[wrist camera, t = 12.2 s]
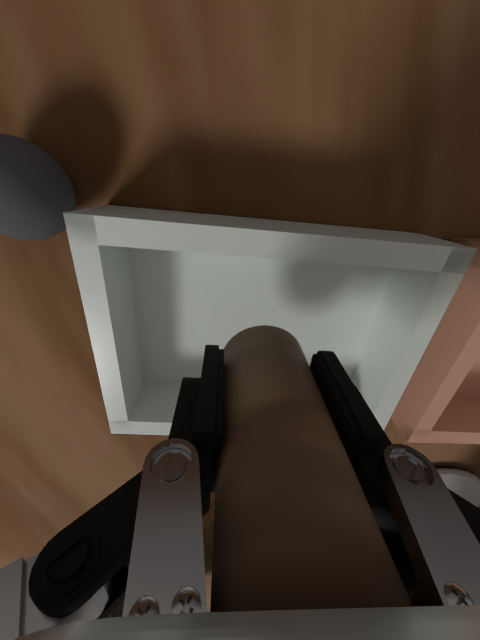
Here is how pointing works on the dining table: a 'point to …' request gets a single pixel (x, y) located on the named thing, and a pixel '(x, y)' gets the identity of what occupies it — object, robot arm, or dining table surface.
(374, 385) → the grey tub
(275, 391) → the walnut peg
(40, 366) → the dining table surface
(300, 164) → the dining table surface
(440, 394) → the terracotta tub
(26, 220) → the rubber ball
